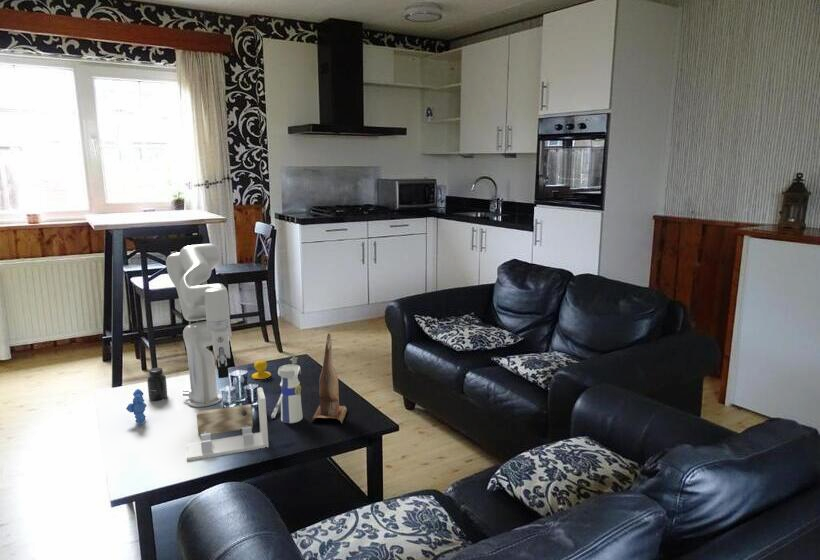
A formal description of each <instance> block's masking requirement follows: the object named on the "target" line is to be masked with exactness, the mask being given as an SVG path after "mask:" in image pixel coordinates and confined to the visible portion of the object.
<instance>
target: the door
mask: <svg viewBox="0 0 820 560" xmlns="http://www.w3.org/2000/svg"><path fill="white" fill-rule="evenodd" d="M196 424H197V433H198V434H197V436H198V437H201V434H203V432H208V433H211V435H215V433H216V434H220V433H221V434H222V433H227V432H228V431H229V432H233V431H240V429H241V430H242V428H243V427H244V426H245V425H248V426H251V427H252V429H253V428H254V427H253V426H254V424H253V412H252V405H251V404H250V403H248V404H242V405H235V406H229V407H221V408H215V409H207V410H200V411H196Z"/></svg>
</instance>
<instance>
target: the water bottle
mask: <svg viewBox="0 0 820 560" xmlns="http://www.w3.org/2000/svg"><path fill="white" fill-rule="evenodd" d="M298 358H299V357H295V355H293V356H292V358H290V359H289V361H291V364H290V363H288V364H284V365H281V366H279V368H278V370H277V374H278V376H280V379H281V381H280V383H279V386H280V388H281V389H280V390H281V394H280V396H281V405H280V420H281V422H282V423H284V424H294V423H298V422H301V420H303V407H302V396H301V391H302V386H301V385H300V384H301V383H300V380H299V378H298V375H299V374H300V376H301V374H302V370H301V366H300V365H298V364H297V363H298V362H297V361H298Z"/></svg>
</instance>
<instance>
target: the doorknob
mask: <svg viewBox="0 0 820 560" xmlns="http://www.w3.org/2000/svg"><path fill="white" fill-rule="evenodd" d="M253 368H254V369H255V370H256V371H257V372H254V373H252V374H251V379H252V378H253V379H252V380H254V379H265V378H268V377H270V376H271V377H272V373H271V372H269V371H266V369H267V368H268V363H267V361H265V360H264V359H260V360H257V361H255V362H254V364H253ZM271 377H270V378H271ZM268 379H269V378H268ZM265 380H266V379H265Z"/></svg>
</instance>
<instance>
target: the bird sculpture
mask: <svg viewBox="0 0 820 560" xmlns="http://www.w3.org/2000/svg"><path fill="white" fill-rule="evenodd" d="M325 342H326V343H325V348H324V349H325V350H324V357H323V362H322V368H321V372H320V375H319V381H318V383H319V384H318V385H319V386H318V387H319V390H318V392H319V393H318V394H319V405H318V406H317V409H316V411H315V413H314V414H313V417H312V418H311V423H313V422H314V421H315V420H316V419H319V418H320V419H329V418H330V419H336V420H338V421H340V424H343V421H344V419H345V417H346V414H347V410H348V409H347V407H346V405H340V399H339V398H340V396H339V394H340V393H339V377H338V376H339V375H338V373H337V370H336V369H335V367H334V366H333V365H334V364H333V351H332V350H333V348H332V347H333V345H332V344H333V343H332V334H331V333H330V332H328V333H327V337H326V341H325Z"/></svg>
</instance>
